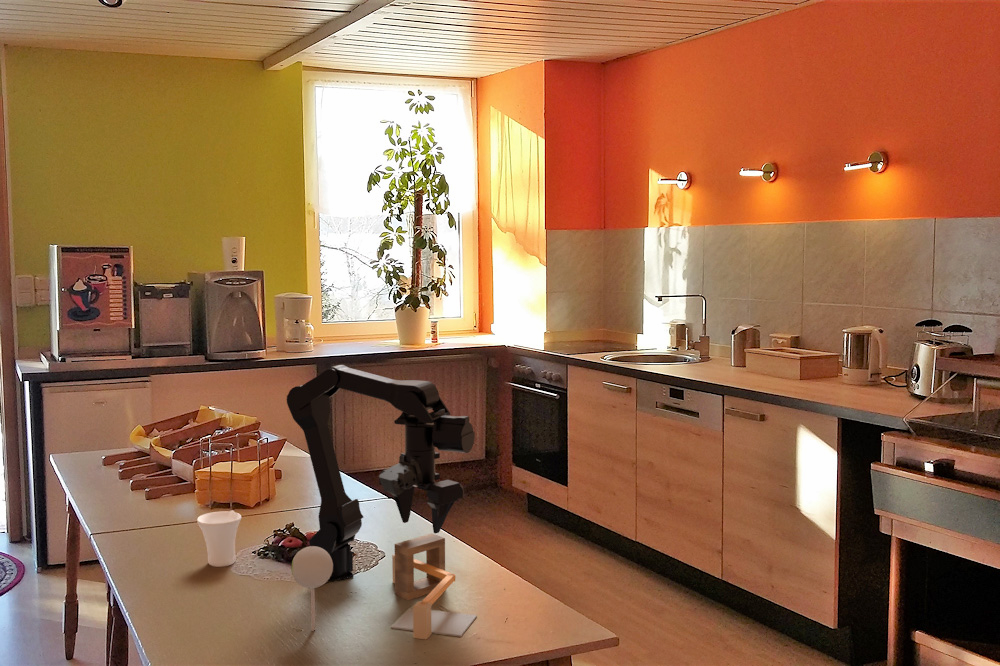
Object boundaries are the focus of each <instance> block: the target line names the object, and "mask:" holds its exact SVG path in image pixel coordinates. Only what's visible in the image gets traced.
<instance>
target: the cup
mask: <svg viewBox="0 0 1000 666" xmlns="http://www.w3.org/2000/svg"><path fill="white" fill-rule="evenodd" d="M241 520H242V515H241V514H240V513H238V512H235V511H234V510H233V509H231V510H229V511H227V510H226V511H225V510H223V511H222V510H221V511H213V512H207V513H204V514H200V516H198V517H197V521H196V522H197V525H198V526H199V528H200V530H201V532H202V535H203V539H204V540H205V545H206V551H207V562H208V564H209V565H210V566H211V567H218V568H219V567H220V568H221V567H227V566H231V565H233V564H234V563H235V562H236V536H237V534H238V533H237V532H238V528H239V524H240V522H241Z"/></svg>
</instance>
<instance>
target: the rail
mask: <svg viewBox="0 0 1000 666" xmlns="http://www.w3.org/2000/svg"><path fill="white" fill-rule="evenodd" d="M391 558H392V583H393V584H395V554H392V557H391ZM414 570H418V571H421V572H423V573H426V574H427V573H428V574H430V575H433V576H435V577H438V578H440V579H443V580H442V581H441V582H440V583H439V584H438V585H437V586H436V587H435V588H434V589H433V590H432V591H431V592H430V593H428V594H426V597H424V598H423V599H422V600H421V601H418V600H417V602H415V604H414V605H413V606H412V608H413V631H412V633H413V634H412V635H413V639H418V640H420V639H421V640H428V639H429V638H430V636H431V635H432V633H431V610H432V606H433V604H435V602H436V601H437V600H438V599H439V598H440V596H442V595H443V594H444V592H445V591H447V590H448V588H449V587H450V586H451V585H452V584H453V583H454V582H456V574H455V573H451V572H449V571H446V570H445V571H444V570H442V569H439V568H437V567H434V566H431V565H429V564H426V562H424V561H421V560H418V559H417V558H416V559H415V558H414Z"/></svg>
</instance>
